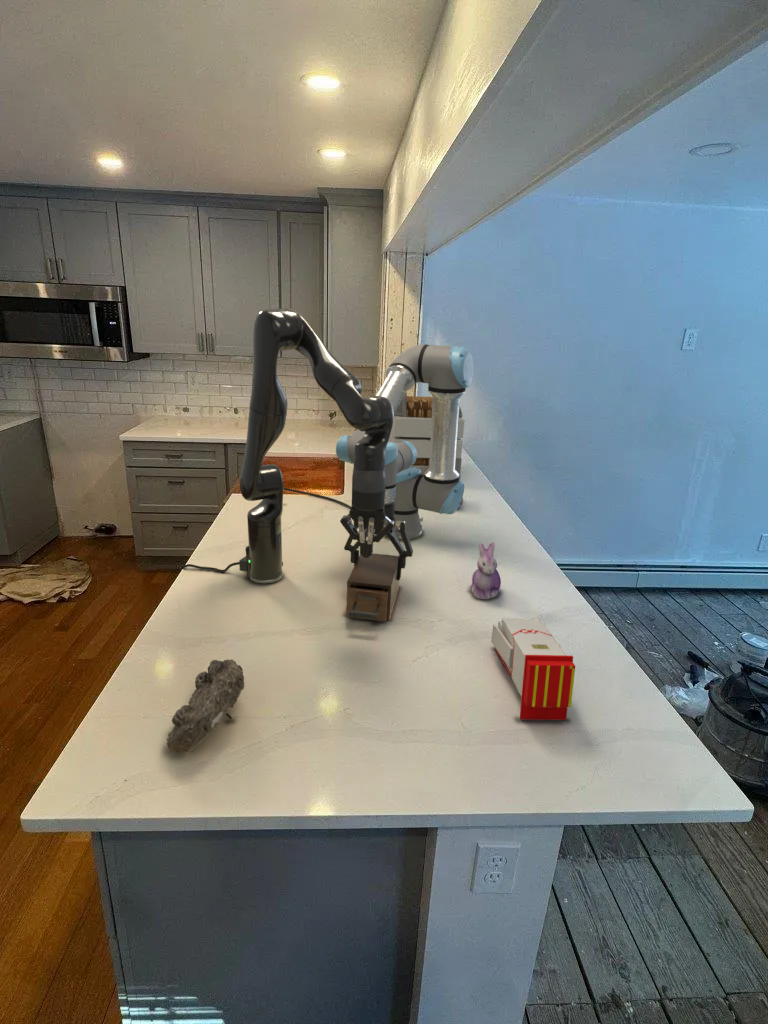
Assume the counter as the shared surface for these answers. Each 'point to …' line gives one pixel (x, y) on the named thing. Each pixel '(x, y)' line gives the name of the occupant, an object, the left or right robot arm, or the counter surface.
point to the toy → (535, 667)
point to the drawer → (367, 603)
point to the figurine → (486, 574)
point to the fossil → (206, 705)
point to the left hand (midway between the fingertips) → (366, 556)
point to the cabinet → (377, 576)
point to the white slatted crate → (420, 428)
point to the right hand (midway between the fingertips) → (377, 575)
